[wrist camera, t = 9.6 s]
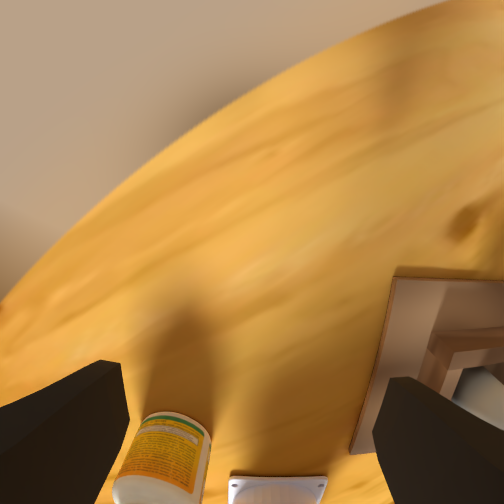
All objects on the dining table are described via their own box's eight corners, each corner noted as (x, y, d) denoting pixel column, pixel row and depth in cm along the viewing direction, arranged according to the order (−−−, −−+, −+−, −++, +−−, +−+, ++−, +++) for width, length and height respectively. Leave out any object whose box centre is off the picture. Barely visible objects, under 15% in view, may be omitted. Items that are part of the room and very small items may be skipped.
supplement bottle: (222, 453, 21) (210, 559, 11) (160, 460, 21) (131, 554, 12) (194, 402, 20) (164, 518, 10) (128, 412, 20) (79, 511, 11)
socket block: (483, 425, 21) (501, 447, 17) (348, 449, 21) (358, 482, 17) (535, 281, 18) (564, 295, 14) (393, 276, 18) (420, 296, 14)
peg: (467, 387, 19) (532, 463, 10) (435, 394, 19) (498, 481, 10) (479, 351, 18) (557, 422, 9) (447, 357, 18) (525, 440, 9)
